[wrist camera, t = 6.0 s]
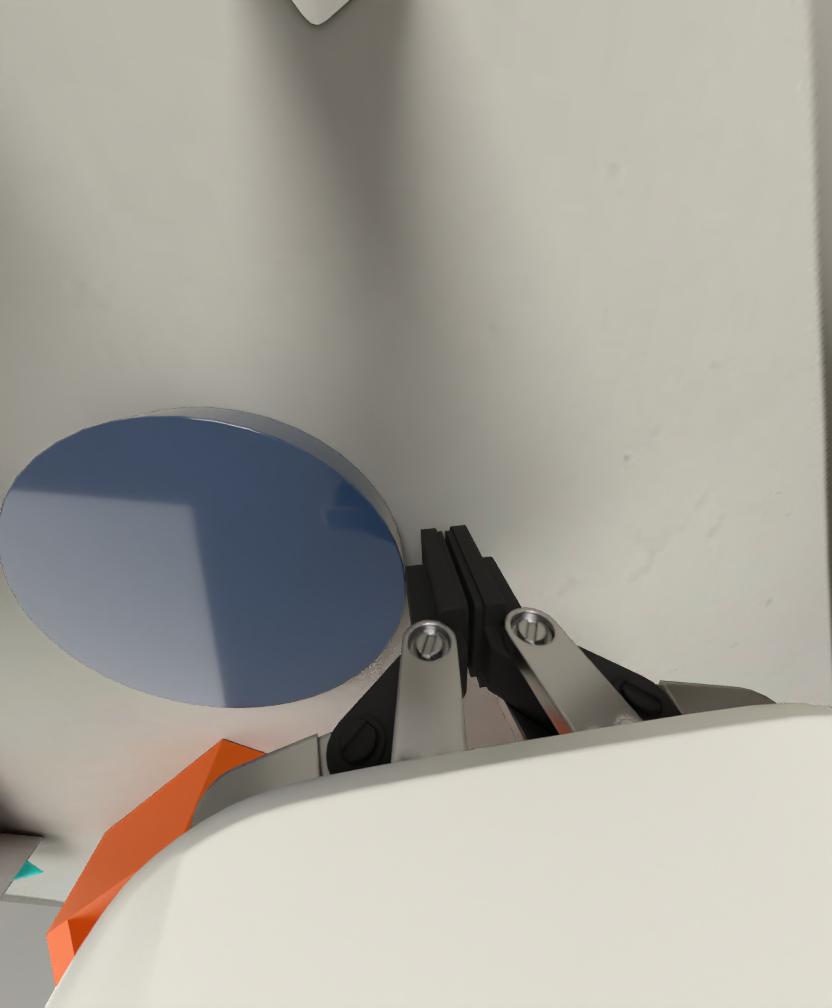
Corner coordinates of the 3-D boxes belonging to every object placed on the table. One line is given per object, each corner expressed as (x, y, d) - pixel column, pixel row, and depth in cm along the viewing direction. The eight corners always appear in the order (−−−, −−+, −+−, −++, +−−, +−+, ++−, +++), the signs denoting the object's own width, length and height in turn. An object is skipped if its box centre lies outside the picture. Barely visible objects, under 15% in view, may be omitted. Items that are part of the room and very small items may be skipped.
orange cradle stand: (439, 813, 23) (469, 1034, 15) (330, 873, 26) (309, 1084, 18) (222, 739, 16) (82, 1079, 8) (104, 833, 19) (-79, 1149, 11)
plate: (-44, 422, 8) (-132, 435, 7) (388, 392, 9) (389, 398, 8) (151, 688, 14) (124, 727, 12) (411, 653, 14) (415, 685, 13)
